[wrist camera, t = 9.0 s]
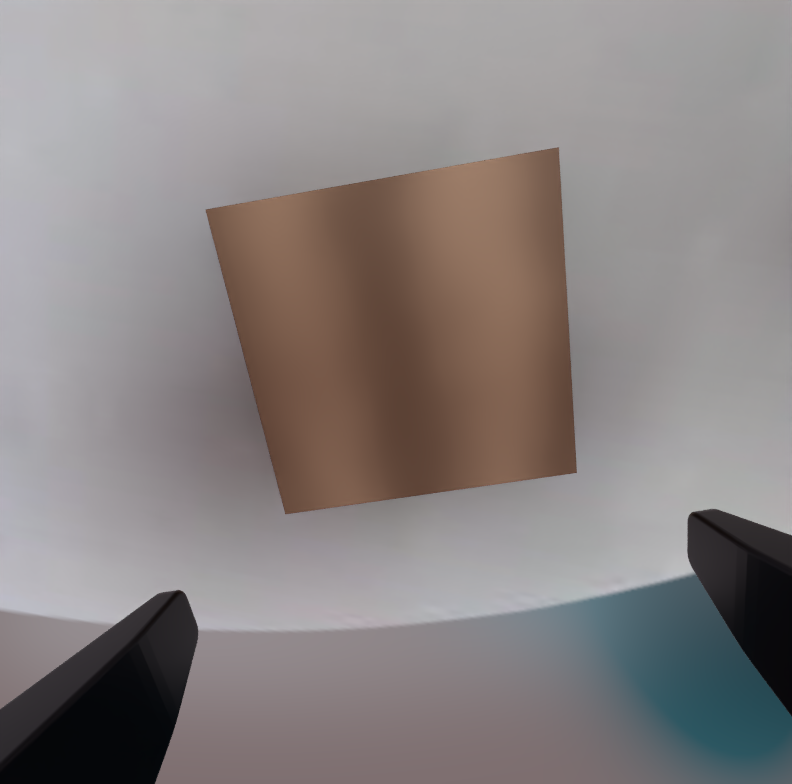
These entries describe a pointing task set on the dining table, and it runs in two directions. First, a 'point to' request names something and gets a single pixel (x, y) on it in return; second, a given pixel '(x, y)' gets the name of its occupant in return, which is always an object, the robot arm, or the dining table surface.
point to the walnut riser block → (406, 330)
